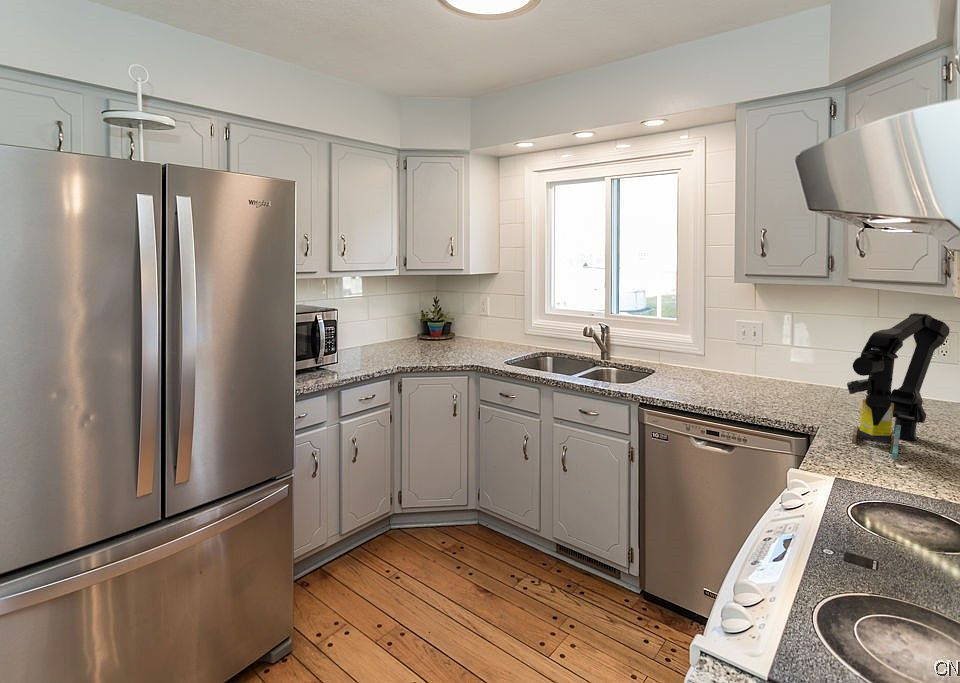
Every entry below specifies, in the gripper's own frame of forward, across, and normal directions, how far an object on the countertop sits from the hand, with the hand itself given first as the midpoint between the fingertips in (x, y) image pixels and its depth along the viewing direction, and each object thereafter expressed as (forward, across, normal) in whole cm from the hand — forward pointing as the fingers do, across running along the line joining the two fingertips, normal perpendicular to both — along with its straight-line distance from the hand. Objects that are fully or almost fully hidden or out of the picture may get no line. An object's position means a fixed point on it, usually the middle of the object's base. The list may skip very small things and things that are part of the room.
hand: (875, 422), depth 176 cm
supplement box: (+4, 0, 0) cm, 4 cm away
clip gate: (+6, +11, +5) cm, 14 cm away
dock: (+7, -1, 0) cm, 7 cm away
